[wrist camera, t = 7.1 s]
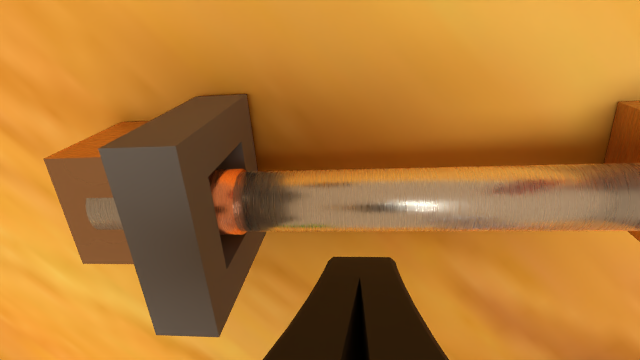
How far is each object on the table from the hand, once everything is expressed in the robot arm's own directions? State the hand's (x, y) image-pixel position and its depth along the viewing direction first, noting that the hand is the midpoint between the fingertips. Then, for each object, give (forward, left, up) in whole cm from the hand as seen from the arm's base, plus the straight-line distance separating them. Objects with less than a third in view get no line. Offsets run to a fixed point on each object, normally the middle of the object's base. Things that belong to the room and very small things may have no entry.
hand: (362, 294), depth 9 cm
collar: (0, +5, -8) cm, 10 cm away
